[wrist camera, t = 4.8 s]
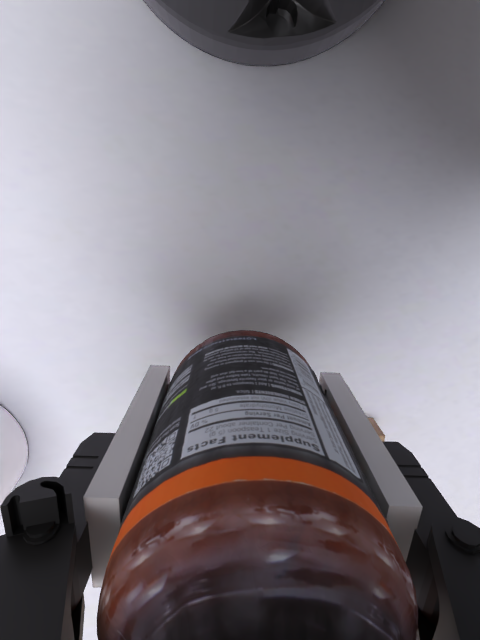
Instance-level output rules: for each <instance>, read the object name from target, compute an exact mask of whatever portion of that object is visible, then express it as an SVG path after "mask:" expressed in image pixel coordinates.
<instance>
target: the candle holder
mask: <svg viewBox="0 0 480 640" xmlns="http://www.w3.org/2000/svg"><path fill="white" fill-rule="evenodd" d="M27 460H28V445H27V440H26V437H25V434H24V432H23V430H22V428H21V426H20V425H19V423H18V422H17V421H16V419H15V418H14V417H13V416H12V415H11V414H10V413H9V412H8V411H7V410H6V409H4V408H3V407H2V406H0V506H1V504H2V503H3V501H4V500H5V498H6V496H8V495H9V494H10V493H11V491H12V490H13V488H14V487H15V485H16V484H17V482H18V480H19V479H20V477H21V475H22V473H23V472H24V469H25V467H26V464H27Z"/></svg>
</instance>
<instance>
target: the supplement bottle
mask: <svg viewBox="0 0 480 640" xmlns="http://www.w3.org/2000/svg"><path fill="white" fill-rule="evenodd" d="M417 629H418V606H417V600H416V590H415V587H414V585H413V581H412V578H411V574H410V571H409V569H408V567H407V565H406V562H405V560H404V558H403V556H402V553H401V551H400V549H399V547H398V545H397V543H396V541H395V539H394V537H393V535H392V533H391V531H390V528H389V524H388V521H387V519H386V517H385V516H384V514H383V513H382V511H381V509H380V507H379V505H378V502H377V500H376V498H375V496H374V494H373V492H372V490H371V488H370V486H369V484H368V481H367V478H366V476H365V475H364V473H363V472H362V471H361V468H360V466H359V464H358V461H357V459H356V457H355V456H354V454H353V452H352V448H351V446H350V444H349V443H348V441H347V438H346V436H345V434H344V432H343V431H342V429H341V427H340V424H339V423H338V420H337V417H336V416H335V415H334V413H333V409H332V408H331V407H330V404H329V402H328V399H327V390H326V389H325V393H324V391H323V389H322V386H321V385H320V384H319V382H318V380H317V377H316V375H315V373H314V371H313V370H312V369H311V367H310V366H309V364H308V363H307V361H306V360H305V358H304V357H303V356H302V355H301V354H300V353H299V352H298V351H297V350H296V349H295V348H293V347H292V346H291V345H289V344H288V343H286V342H285V341H283V340H282V339H280V338H278V337H276V336H273V335H270V334H267V333H262V332H257V331H245V330H240V331H231V332H226V333H222V334H218V335H216V336H213V337H210V338H209V339H207V340H205V341H204V342H203V343H201V344H199V345H198V346H196V347H195V348H194V349H193V350H191V351H190V353H189V354H188V355H187V356H186V357H185V358H184V359H183V360H182V362H181V363H180V365H179V366H178V368H177V370H176V372H175V374H174V376H173V378H172V380H171V382H170V384H169V387H168V390H167V392H166V396H165V399H164V401H163V404H162V407H161V410H160V413H159V416H158V419H157V421H156V424H155V427H154V430H153V433H152V435H151V439H150V442H149V444H148V447H147V450H146V453H145V455H144V459H143V462H142V465H141V468H140V470H139V473H138V476H137V480H136V483H135V485H134V488H133V491H132V494H131V496H130V499H129V502H128V505H127V508H126V511H125V513H124V516H123V519H122V522H121V525H120V528H119V532H118V536H117V539H116V541H115V544H114V546H113V550H112V553H111V556H110V559H109V562H108V565H107V568H106V571H105V575H104V579H103V584H102V589H101V593H100V598H99V605H98V613H97V636H98V640H416V637H417Z"/></svg>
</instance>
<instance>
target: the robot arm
mask: <svg viewBox="0 0 480 640" xmlns="http://www.w3.org/2000/svg"><path fill="white" fill-rule="evenodd" d="M143 1H144V2H145V3H146V4H147V5H148V7H149V8H150V9H151V10H152V11H153V12H154V14H155V15H156V16H157V17H158V18H159V19H160V20H161V21H162V22H163V23H164V24H166V25H167V26H168V27H169V28H170V29H171V30H172V31H173V32H175V33H176V34H177V35H179V36H180V37H181V38H183V39H184V40H186V41H187V42H189V43H190V44H192V45H193V46H195V47H197V48H199V49H200V50H202V51H204V52H206V53H209V54H211V55H213V56H216V57H218V58H221V59H224V60H227V61H231V62H235V63H240V64H246V65H256V66H273V65H283V64H288V63H293V62H297V61H301V60H304V59H307V58H310V57H313V56H315V55H317V54H320V53H322V52H324V51H326V50H328V49H330V48H331V47H333V46H335V45H337V44H338V43H340V42H341V41H343V40H344V39H346V38H347V37H348V36H350V35H351V34H352V33H353V32H355V31H356V30H357V29H358V28H359V27H360V26H362V25H363V24H364V23H365V22H366V21H367V20H368V19H369V18H370V17H371V16H372V15H373V14H374V13H375V11H376V10H377V9H378V8H379V7H380V5H381V4H382V3H383V2H384V1H385V0H143ZM169 384H170V366H156V365H150V367H149V369H148V371H147V373H146V375H145V377H144V379H143V381H142V383H141V385H140V387H139V389H138V391H137V393H136V394H135V396H134V398H133V400H132V402H131V404H130V406H129V408H128V410H127V412H126V414H125V416H124V418H123V420H122V422H121V424H120V426H119V428H118V430H117V432H116V433H93V434H92V435H91V436H89V437H88V438H87V439H86V440H84V441H83V442H82V443H81V444H80V445H79V447H78V448H77V450H76V452H75V453H74V455H73V458H71V460H70V461H69V463H68V464H67V467H66V469H64V471H63V472H62V474H61V475H60V477H59V478H58V477H42V478H38V479H35V480H31V481H28V482H27V483H25V484H23V485H21V486H19V487H17V488H16V489H15V490H13V491H12V492H11V493H10V494H9V495H8V496H6V498H5V500H4V501H3V503H2V504H1V506H0V508H1V513H2V518H3V523H4V528H5V533H6V534H5V535H2V536H0V640H82V636H83V622H84V609H85V604H84V595H83V592H84V589H85V587H86V584H87V581H88V579H89V576H90V574H91V575H92V584H93V587H101V588H102V584H103V579H104V575H105V571H106V568H107V565H108V562H109V559H110V556H111V553H112V550H113V546H114V544H115V541H116V539H117V536H118V532H119V528H120V525H121V522H122V519H123V516H124V513H125V511H126V508H127V505H128V502H129V499H130V496H131V494H132V491H133V488H134V485H135V483H136V480H137V476H138V473H139V470H140V468H141V465H142V462H143V459H144V455H145V453H146V450H147V447H148V444H149V442H150V439H151V435H152V433H153V430H154V427H155V424H156V421H157V419H158V416H159V413H160V410H161V407H162V404H163V401H164V399H165V396H166V392H167V390H168V387H169ZM319 384H320V385H321V386H322V389H323V391H324V393H325V389H326V390H327V399H328V402H329V404H330V407H331V408H332V409H333V413H334V415H335V416H336V417H337V420H338V423H339V424H340V427H341V429H342V431H343V432H344V434H345V436H346V438H347V441H348V443H349V444H350V446H351V448H352V452H353V454H354V456H355V457H356V459H357V461H358V464H359V466H360V468H361V471H362V472H363V473H364V475H365V476H366V478H367V481H368V484H369V486H370V488H371V490H372V492H373V494H374V496H375V498H376V500H377V502H378V505H379V507H380V509H381V511H382V513H383V514H384V516H385V517H386V519H387V521H388V524H389V528H390V531H391V533H392V535H393V537H394V539H395V541H396V543H397V545H398V547H399V549H400V551H401V553H402V556H403V558H404V560H405V562H406V565H407V567H408V569H409V571H410V574H411V578H412V581H413V585H414V587H415V590H416V600H417V606H418V629H417V637H416V640H480V528H479V527H477V526H475V525H474V524H472V523H470V522H469V521H466V520H464V519H461V518H458V517H457V516H456V514H455V513H454V512H453V510H452V509H451V507H450V506H449V504H448V503H447V502H446V500H445V499H444V497H443V496H442V495H441V493H440V492H439V490H438V489H437V488H436V486H435V485H434V483H433V482H432V481H431V479H429V478H428V475H427V474H426V472H425V471H424V469H423V468H421V465H420V464H419V462H418V461H417V459H416V458H415V457H414V455H413V454H412V453H411V452H410V451H409V450H407V449H406V448H405V447H404V446H402V445H401V444H400V443H399V442H384V441H381V439H380V437H379V436H378V434H377V432H376V431H375V429H374V428H373V426H372V424H371V423H370V421H369V420H368V418H367V416H366V415H365V413H364V412H363V410H362V408H361V407H360V405H359V403H358V402H357V400H356V399H355V397H354V395H353V394H352V392H351V391H350V389H349V387H348V386H347V384H346V383H345V381H344V379H343V378H342V376H341V375H340V373H327V372H321V374H320V381H319Z"/></svg>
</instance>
